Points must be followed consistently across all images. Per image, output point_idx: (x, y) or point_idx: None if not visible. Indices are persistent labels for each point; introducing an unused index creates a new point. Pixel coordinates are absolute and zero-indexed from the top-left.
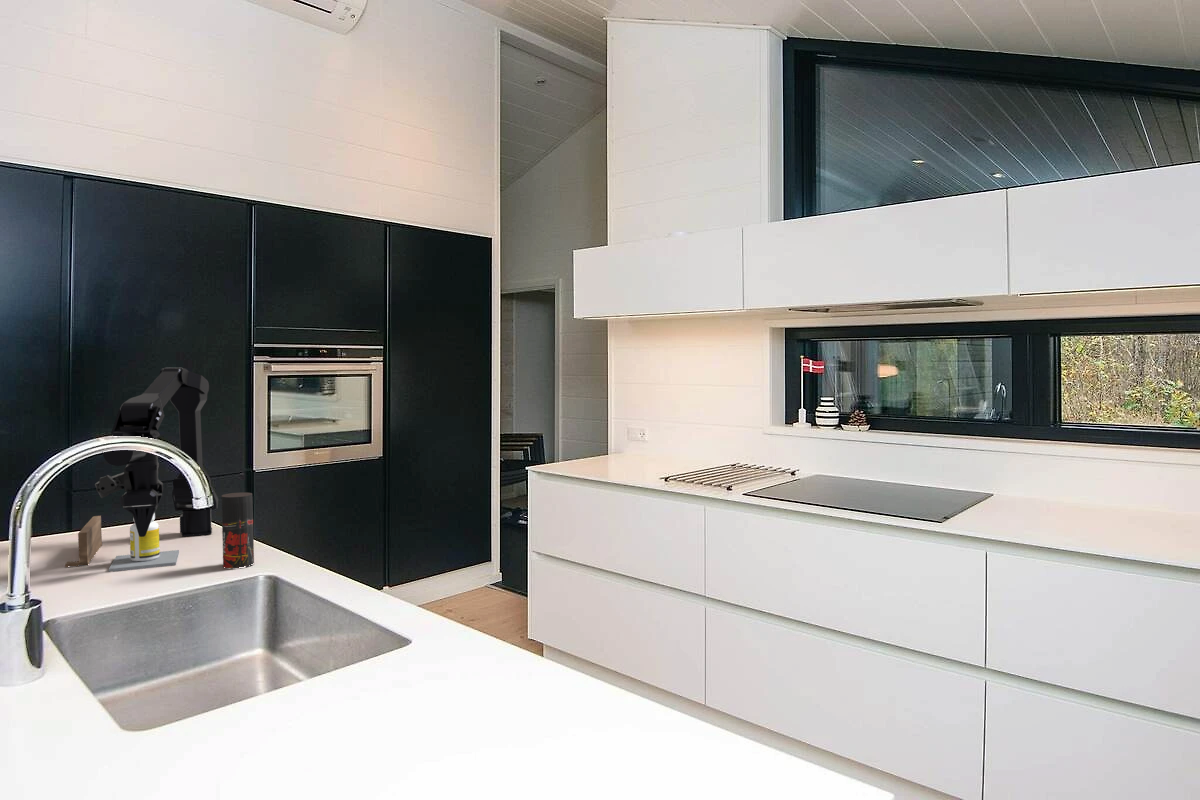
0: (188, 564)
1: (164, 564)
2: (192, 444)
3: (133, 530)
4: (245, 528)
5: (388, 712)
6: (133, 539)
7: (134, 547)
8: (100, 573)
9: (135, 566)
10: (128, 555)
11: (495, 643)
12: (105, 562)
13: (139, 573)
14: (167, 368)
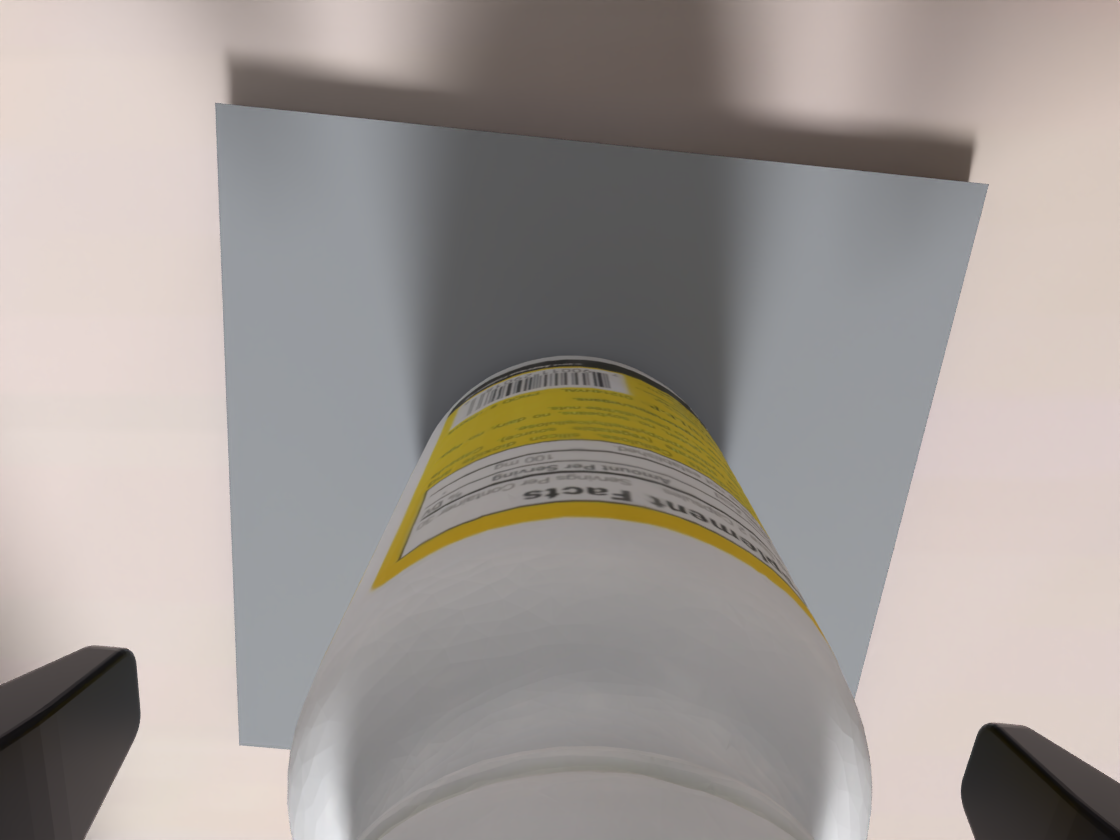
0: (233, 811)
1: (243, 649)
2: None
3: (376, 599)
4: None
5: None
6: (420, 502)
7: (430, 459)
8: (203, 6)
9: (229, 396)
10: (903, 325)
11: None
12: (829, 50)
13: (25, 421)
14: None
